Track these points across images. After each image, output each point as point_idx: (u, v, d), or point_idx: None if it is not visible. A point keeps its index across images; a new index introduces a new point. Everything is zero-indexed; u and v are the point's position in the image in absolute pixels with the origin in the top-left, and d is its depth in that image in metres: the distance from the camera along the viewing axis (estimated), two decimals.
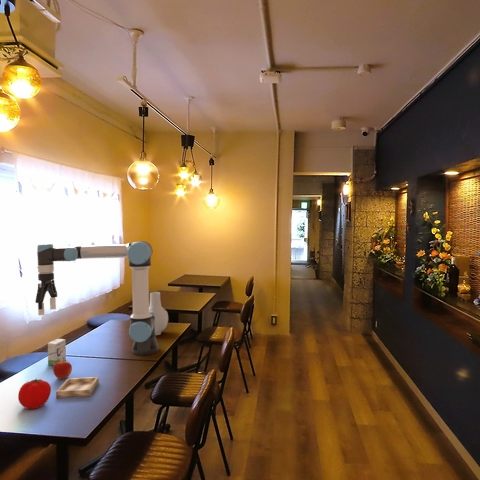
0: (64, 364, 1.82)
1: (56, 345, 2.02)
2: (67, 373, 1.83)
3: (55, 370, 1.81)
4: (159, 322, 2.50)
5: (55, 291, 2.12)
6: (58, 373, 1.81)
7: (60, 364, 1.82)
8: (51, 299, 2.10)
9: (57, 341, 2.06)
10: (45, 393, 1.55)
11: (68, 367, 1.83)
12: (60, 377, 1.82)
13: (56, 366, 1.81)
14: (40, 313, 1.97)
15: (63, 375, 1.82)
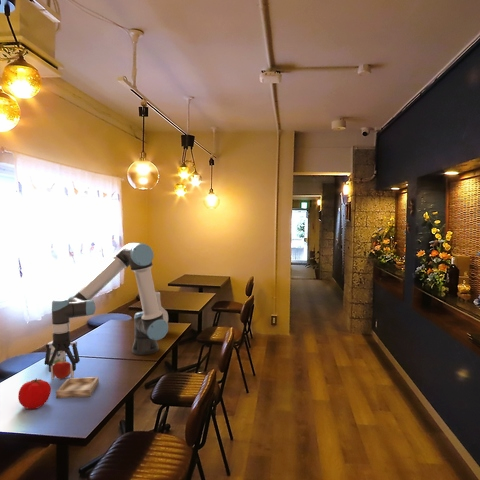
0: (64, 364, 1.82)
1: None
2: (67, 373, 1.83)
3: (55, 370, 1.81)
4: None
5: None
6: (58, 373, 1.81)
7: (60, 364, 1.82)
8: None
9: None
10: (45, 393, 1.55)
11: (68, 367, 1.83)
12: (60, 377, 1.82)
13: (56, 366, 1.81)
14: None
15: (63, 375, 1.82)
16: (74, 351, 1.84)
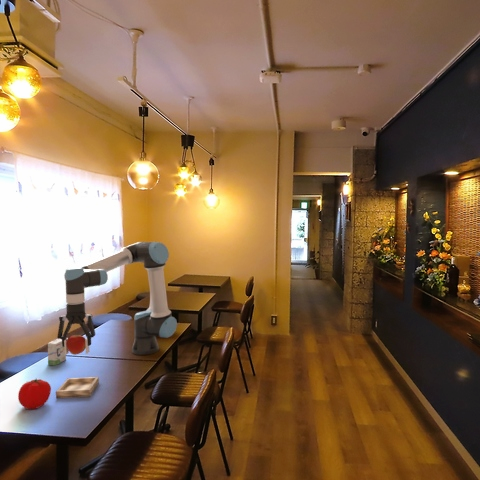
0: (78, 338, 1.68)
1: (56, 345, 2.02)
2: (82, 348, 1.68)
3: (69, 344, 1.66)
4: None
5: (90, 331, 1.69)
6: (72, 347, 1.66)
7: (74, 338, 1.67)
8: None
9: (57, 341, 2.06)
10: (45, 393, 1.55)
11: (83, 341, 1.68)
12: (74, 352, 1.67)
13: (70, 340, 1.67)
14: None
15: (77, 350, 1.67)
16: (89, 324, 1.69)
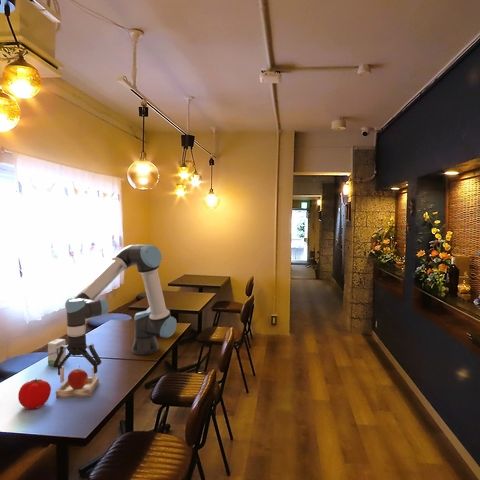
0: (80, 373, 1.68)
1: (56, 345, 2.02)
2: (83, 382, 1.69)
3: (70, 379, 1.67)
4: None
5: (95, 359, 1.70)
6: (73, 383, 1.67)
7: (75, 373, 1.68)
8: None
9: (57, 341, 2.06)
10: (45, 393, 1.55)
11: (84, 376, 1.69)
12: (75, 387, 1.68)
13: (71, 375, 1.67)
14: None
15: (79, 385, 1.68)
16: (93, 353, 1.70)
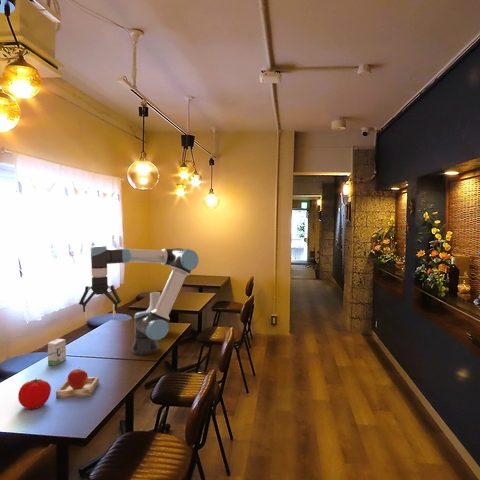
0: (80, 373, 1.68)
1: (56, 345, 2.02)
2: (83, 382, 1.69)
3: (70, 379, 1.67)
4: None
5: None
6: (73, 383, 1.67)
7: (75, 373, 1.68)
8: None
9: (57, 341, 2.06)
10: (45, 393, 1.55)
11: (84, 376, 1.69)
12: (75, 387, 1.68)
13: (71, 375, 1.67)
14: None
15: (78, 385, 1.68)
16: (113, 293, 1.94)
